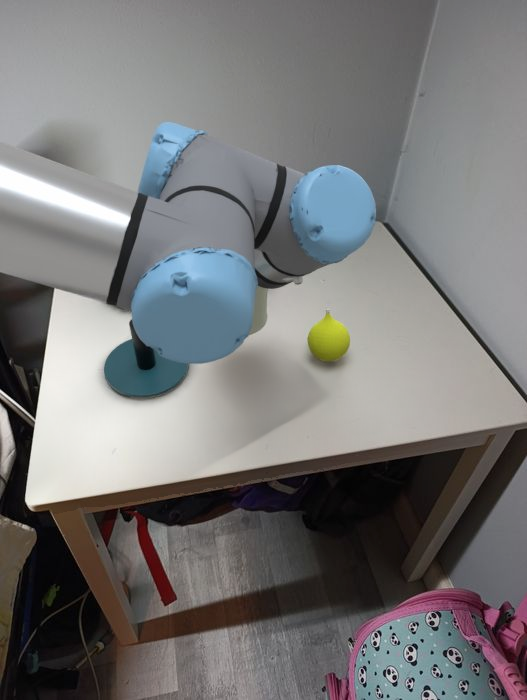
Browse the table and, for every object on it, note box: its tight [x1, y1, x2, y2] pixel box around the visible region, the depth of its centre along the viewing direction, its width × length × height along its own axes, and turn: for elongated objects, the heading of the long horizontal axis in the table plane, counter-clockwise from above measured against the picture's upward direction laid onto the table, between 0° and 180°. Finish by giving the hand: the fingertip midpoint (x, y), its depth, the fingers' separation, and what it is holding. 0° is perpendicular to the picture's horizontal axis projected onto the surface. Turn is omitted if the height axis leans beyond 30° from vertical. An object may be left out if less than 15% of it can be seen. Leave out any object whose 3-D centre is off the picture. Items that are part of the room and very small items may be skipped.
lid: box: [103, 318, 190, 399], centre depth 79 cm, size 14×14×10 cm
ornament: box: [307, 302, 351, 362], centre depth 83 cm, size 7×7×10 cm
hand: (229, 284), depth 76 cm, fingers closed on can, 9 cm apart
